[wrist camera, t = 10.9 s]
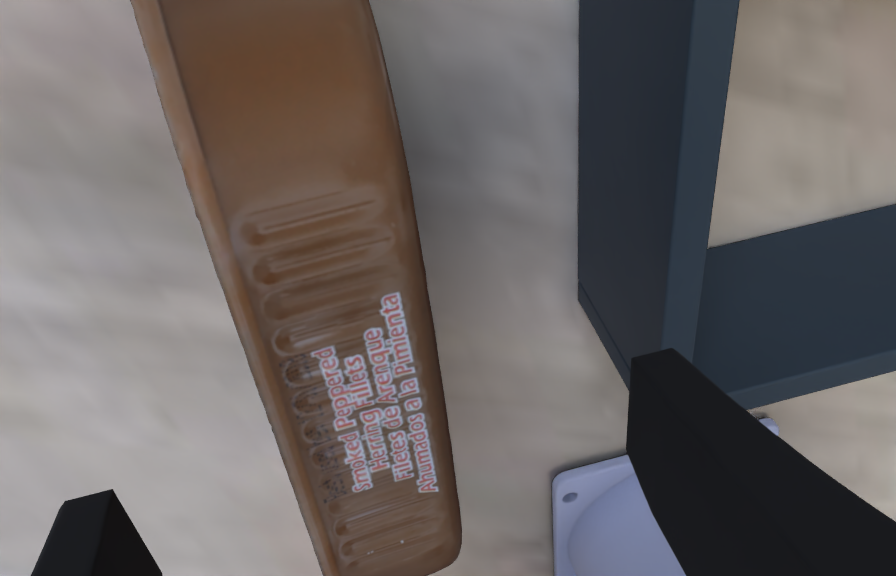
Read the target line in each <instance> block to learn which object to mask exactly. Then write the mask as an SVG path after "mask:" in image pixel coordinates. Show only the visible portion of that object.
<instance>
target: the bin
mask: <svg viewBox="0 0 896 576" xmlns="http://www.w3.org/2000/svg"><path fill="white" fill-rule="evenodd" d="M738 8H739V0H580V11H579V214H578V279H579V295H578V300H579V302H580V304H581V306H582V307H583V309H584V311H585V313H586V315H587V316H588V318H589V320H590V322H591V324H592V325H593V327H594V329H595V331H596V333H597V334H598V336H599V338H600V340H601V342H602V343H603V345H604V347H605V349H606V351H607V352H608V354H609V356H610V358H611V360H612V361H613V363H614V365H615V367H616V369H617V370H618V372H619V374H620V376H621V378H622V379H623V381H624V383H625V385H626V387H627V388H628V390H629V389H630V372H631V358H633V357H637V356H641V355H645V354H649V353H653V352H657V351H661V350H665V349H669V348H673V349H675V350H676V351H678V352H679V353H680V354H681V355H683V356H684V357H685V358H686V359H687V360H688V361H689V362H691V363H692V364H693V365H694V366H695V367H696V368H697V369H699V370H700V371H701V372H702V373H703V374H704V375H705V376H706V377H708V378H709V379H710V380H711V381H712V382H713V383H715V384H716V385H717V386H718V387H719V388H720V389H721V390H723V391H724V392H725V393H726V394H727V395H728V396H730V397H731V398H732V399H733V400H734V401H736V402H737V403H738V404H739V405H740V406H742V407H743V408H744V409H745V410H749V409H753V408H756V407H760V406H764V405H768V404H772V403H775V402H779V401H783V400H787V399H790V398H794V397H798V396H802V395H806V394H809V393H813V392H817V391H821V390H825V389H828V388H832V387H836V386H840V385H843V384H847V383H851V382H855V381H859V380H862V379H866V378H870V377H874V376H878V375H881V374H885V373H889V372H893V371H896V204H895V205H890V206H886V207H882V208H878V209H874V210H869V211H865V212H861V213H857V214H853V215H849V216H844V217H840V218H836V219H832V220H828V221H823V222H819V223H815V224H811V225H807V226H802V227H798V228H794V229H790V230H786V231H781V232H777V233H773V234H769V235H765V236H760V237H756V238H752V239H748V240H744V241H740V242H735V243H731V244H727V245H723V246H719V247H714V248H710V249H707V245H708V238H709V230H710V222H711V215H712V207H713V199H714V192H715V184H716V176H717V169H718V161H719V153H720V146H721V138H722V130H723V123H724V115H725V107H726V100H727V92H728V84H729V77H730V69H731V62H732V54H733V46H734V39H735V31H736V23H737V16H738Z"/></svg>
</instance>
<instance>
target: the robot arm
mask: <svg viewBox="0 0 896 576" xmlns="http://www.w3.org/2000/svg"><path fill="white" fill-rule="evenodd" d="M778 434H779V427H778V426H777V424H776V423H775V421H774V420H773V419H770V418H763V419H759V420H757V419H756V418H755V417H753V416H752V415H751V414H750V413H749V412H747V411H746V410H745V409H744V408H743V407H742V406H740V405H739V404H738V403H737V402H736V401H734V400H733V399H732V398H731V397H730V396H728V395H727V394H726V393H725V392H724V391H723V390H721V389H720V388H719V387H718V386H717V385H716V384H715V383H713V382H712V381H711V380H710V379H709V378H708V377H706V376H705V375H704V374H703V373H702V372H701V371H700V370H699V369H697V368H696V367H695V366H694V365H693V364H692V363H691V362H689V361H688V360H687V359H686V358H685V357H684V356H683V355H681V354H680V353H679V352H678V351H676V350H675V349H673V348H669V349H665V350H661V351H657V352H653V353H649V354H645V355H641V356H637V357H633V358H631V372H630V389H629V407H628V425H627V442H626V451H627V455H624V456H620V457H616V458H612V459H609V460H605V461H601V462H597V463H593V464H590V465H586V466H582V467H578V468H575V469H571V470H567V471H564V472H562V473H560V474H558V475H557V476H556V477H555V478H554V480H553V482H552V504H553V541H554V576H896V522H895V521H894V520H892V519H891V518H889V517H888V516H886V515H885V514H883V513H882V512H880V511H879V510H877V509H876V508H874V507H873V506H871V505H870V504H868V503H867V502H866V501H864V500H863V499H861V498H860V497H858V496H857V495H856V494H854V493H853V492H851V491H850V490H849V489H847V488H846V487H844V486H843V485H842V484H840V483H839V482H837V481H836V480H835V479H833V478H832V477H830V476H829V475H828V474H826V473H825V472H824V471H822V470H821V469H820V468H818V467H817V466H816V465H814V464H813V463H812V462H810V461H809V460H808V459H806V458H805V457H804V456H803V455H801V454H800V453H799V452H797V451H796V450H795V449H794V448H792V447H791V446H790V445H789V444H787V443H786V442H785V441H783V440H782V439H781V438H780V437H778ZM31 576H162V572H161V570H160V569H159V567H158V565H157V564H156V562H155V560H154V559H153V557H152V555H151V554H150V552H149V550H148V548H147V547H146V545H145V543H144V542H143V540H142V538H141V537H140V535H139V533H138V532H137V530H136V528H135V527H134V525H133V523H132V521H131V520H130V518H129V516H128V515H127V513H126V511H125V510H124V508H123V506H122V505H121V503H120V501H119V499H118V498H117V496H116V494H115V493H114V491H113V489H111V490H107V491H103V492H100V493H96V494H92V495H88V496H84V497H80V498H76V499H72V500H68V501H65V502H64V504H63V505H62V506H61V508H60V509H59V512H58V514H57V516H56V519H55V521H54V524H53V526H52V528H51V531H50V533H49V535H48V538H47V540H46V542H45V545H44V547H43V549H42V552H41V554H40V556H39V559H38V561H37V563H36V565H35V568H34V570H33V572H32V574H31Z"/></svg>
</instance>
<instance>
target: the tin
mask: <svg viewBox="0 0 896 576" xmlns="http://www.w3.org/2000/svg"><path fill="white" fill-rule="evenodd" d="M130 1H131V4H132V6H133V9H134V13H135V18H136V21H137V24H138V28H139V31H140V34H141V37H142V40H143V45H144V48H145V51H146V53H147V56H148V59H149V62H150V66H151V69H152V73H153V76H154V80H155V84H156V87H157V91H158V95H159V97H160V100H161V104H162V108H163V111H164V115H165V118H166V121H167V124H168V127H169V130H170V133H171V137H172V140H173V144H174V147H175V150H176V153H177V156H178V159H179V161H180V163H181V165H182V169H183V172H184V176H185V180H186V185H187V188H188V190H189V192H190V195H191V198H192V201H193V205H194V208H195V212H196V216H197V218H198V219H199V221H200V224H201V227H202V230H203V234H204V237H205V240H206V243H207V246H208V249H209V252H210V255H211V258H212V261H213V264H214V267H215V270H216V273H217V276H218V278H219V281H220V284H221V286H222V289H223V291H224V294H225V297H226V300H227V303H228V306H229V309H230V312H231V315H232V318H233V321H234V324H235V327H236V329H237V332H238V335H239V338H240V340H241V343H242V345H243V348H244V351H245V354H246V357H247V360H248V364H249V367H250V370H251V372H252V375H253V378H254V381H255V384H256V387H257V389H258V392H259V395H260V398H261V400H262V402H263V405H264V408H265V410H266V414H267V417H268V420H269V423H270V424H271V426H272V431H273V433H274V435H275V438H276V441H277V444H278V448H279V451H280V454H281V457H282V459H283V462H284V465H285V468H286V470H287V473H288V476H289V479H290V482H291V485H292V487H293V490H294V493H295V496H296V499H297V501H298V504H299V508H300V511H301V514H302V517H303V519H304V522H305V525H306V527H307V530H308V533H309V536H310V538H311V541H312V544H313V547H314V551H315V554H316V556H317V559H318V562H319V565H320V568H321V571H322V574H323V576H427V575H429V574H432V573H435V572H437V571H439V570H441V569H443V568H445V567H447V566H449V565H451V564H452V563H453V562H454V561H455V560H456V559H457V557H458V555H459V553H460V549H461V544H462V526H461V516H460V506H459V499H458V493H457V485H456V476H455V471H454V463H453V454H452V446H451V439H450V434H449V426H448V418H447V411H446V404H445V397H444V391H443V384H442V377H441V371H440V364H439V358H438V351H437V343H436V336H435V330H434V323H433V318H432V312H431V306H430V301H429V295H428V289H427V280H426V271H425V266H424V261H423V256H422V250H421V244H420V238H419V232H418V226H417V220H416V214H415V208H414V201H413V195H412V188H411V182H410V176H409V171H408V166H407V161H406V156H405V151H404V146H403V141H402V136H401V131H400V126H399V121H398V117H397V112H396V107H395V103H394V98H393V93H392V89H391V85H390V80H389V76H388V72H387V68H386V63H385V59H384V55H383V51H382V46H381V42H380V38H379V34H378V30H377V27H376V23H375V20H374V16H373V13H372V9H371V6H370V2H369V0H130Z"/></svg>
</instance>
